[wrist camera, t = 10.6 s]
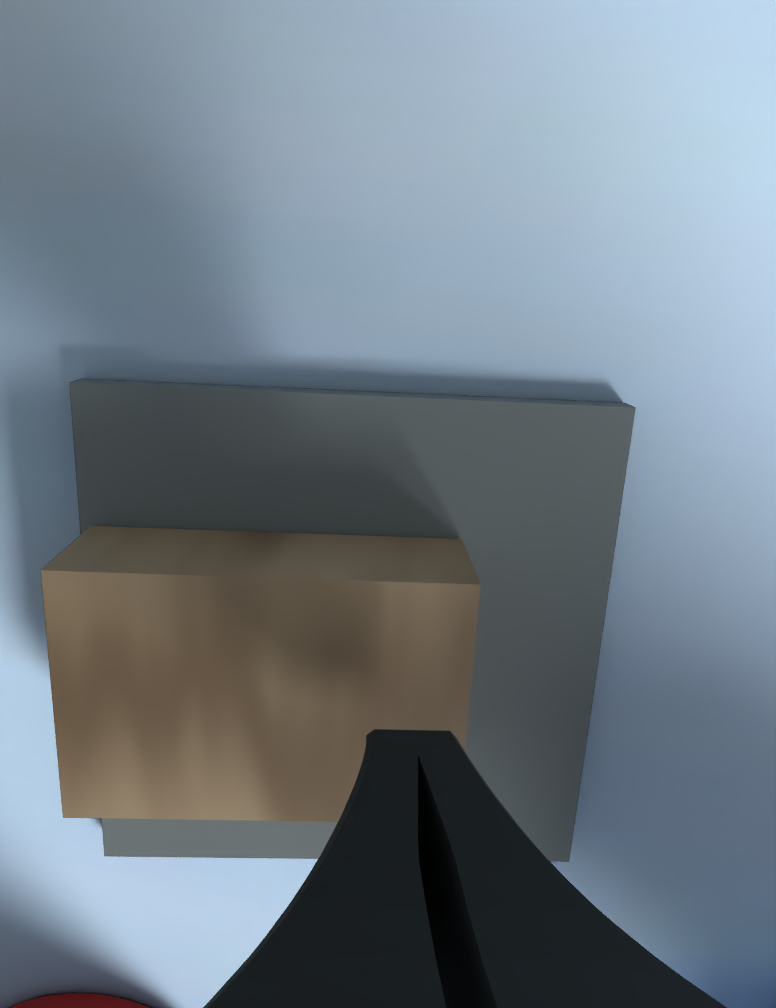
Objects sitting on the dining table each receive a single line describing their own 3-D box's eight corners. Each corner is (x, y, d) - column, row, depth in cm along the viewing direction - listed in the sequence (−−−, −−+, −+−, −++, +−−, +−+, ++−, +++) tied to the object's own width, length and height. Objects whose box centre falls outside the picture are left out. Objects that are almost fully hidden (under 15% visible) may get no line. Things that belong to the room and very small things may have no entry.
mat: (561, 843, 18) (568, 861, 18) (112, 837, 18) (104, 856, 17) (624, 403, 15) (635, 407, 14) (80, 378, 14) (69, 382, 14)
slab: (458, 823, 14) (63, 817, 14) (443, 745, 17) (106, 739, 16) (480, 584, 13) (40, 570, 12) (461, 537, 15) (92, 524, 15)
